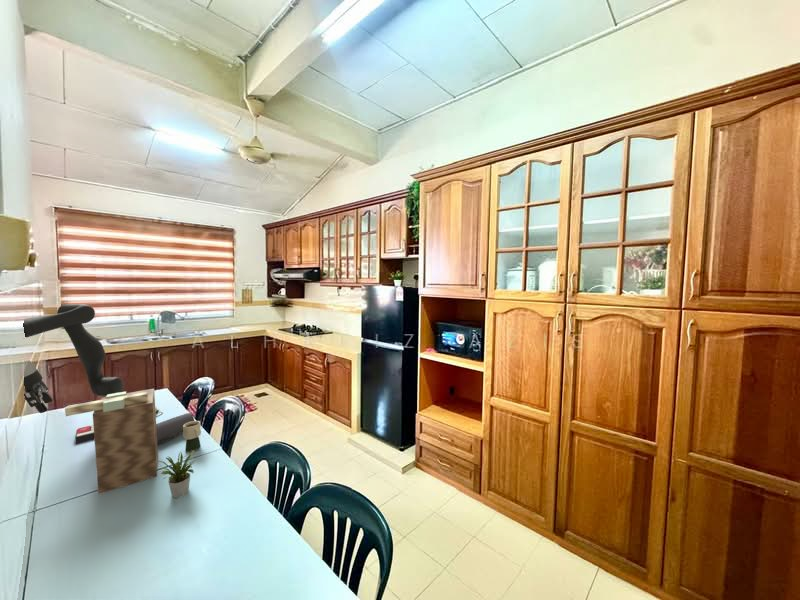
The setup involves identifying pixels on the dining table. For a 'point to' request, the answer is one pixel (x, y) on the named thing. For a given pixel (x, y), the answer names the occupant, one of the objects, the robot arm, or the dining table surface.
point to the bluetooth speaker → (172, 427)
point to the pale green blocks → (114, 402)
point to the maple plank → (99, 404)
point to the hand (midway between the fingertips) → (46, 406)
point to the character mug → (192, 435)
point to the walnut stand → (126, 444)
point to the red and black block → (84, 434)
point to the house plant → (179, 475)
